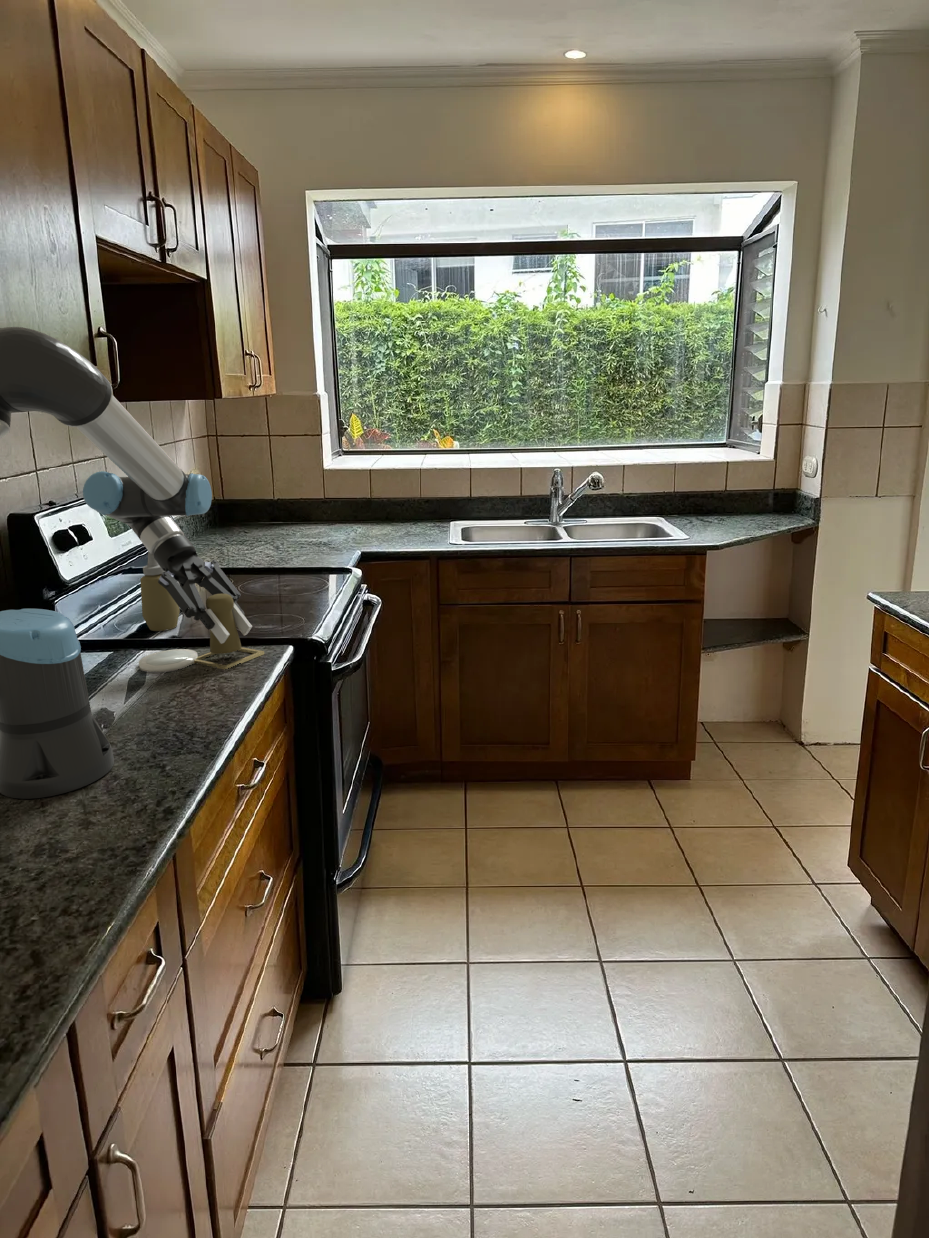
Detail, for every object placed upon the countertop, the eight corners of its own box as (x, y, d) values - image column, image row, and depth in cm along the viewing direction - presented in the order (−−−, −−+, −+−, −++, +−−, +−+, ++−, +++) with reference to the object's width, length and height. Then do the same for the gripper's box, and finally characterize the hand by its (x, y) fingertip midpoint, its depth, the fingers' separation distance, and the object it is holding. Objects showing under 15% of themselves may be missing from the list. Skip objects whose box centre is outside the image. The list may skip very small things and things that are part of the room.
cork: (246, 643, 167) (239, 590, 164) (235, 653, 161) (227, 598, 158) (217, 644, 168) (209, 591, 165) (205, 653, 162) (197, 599, 159)
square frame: (225, 669, 158) (225, 666, 158) (190, 662, 164) (190, 659, 164) (264, 654, 166) (264, 651, 166) (229, 647, 172) (229, 644, 172)
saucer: (164, 675, 157) (163, 670, 157) (127, 667, 163) (126, 662, 162) (209, 658, 166) (209, 652, 165) (173, 651, 172) (172, 645, 171)
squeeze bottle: (158, 635, 183) (145, 555, 178) (137, 630, 188) (124, 552, 183) (189, 625, 189) (177, 548, 184) (168, 621, 194) (156, 545, 189)
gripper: (198, 550, 175) (263, 634, 171) (123, 567, 161) (192, 659, 156) (212, 526, 171) (279, 611, 167) (136, 542, 156) (207, 636, 152)
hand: (236, 634), depth 161 cm, fingers closed on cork, 5 cm apart
